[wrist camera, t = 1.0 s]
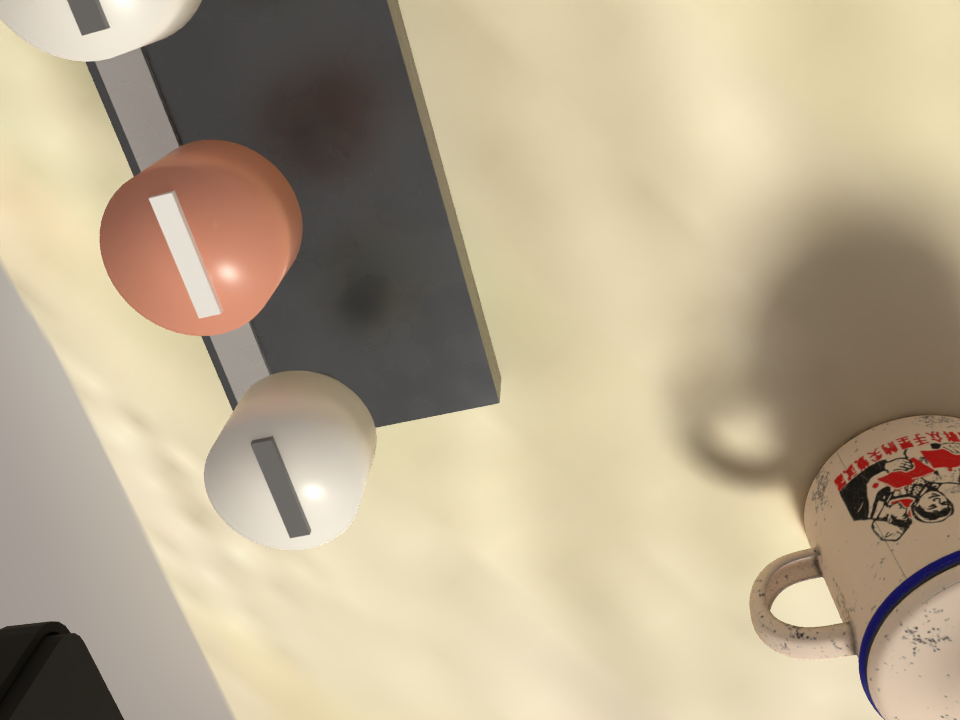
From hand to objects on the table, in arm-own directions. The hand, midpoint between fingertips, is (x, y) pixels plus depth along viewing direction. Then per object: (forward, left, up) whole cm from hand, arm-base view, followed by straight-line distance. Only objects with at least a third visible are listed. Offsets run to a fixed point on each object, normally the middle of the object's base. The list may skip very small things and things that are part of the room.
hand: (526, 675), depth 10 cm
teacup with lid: (-1, +21, -25) cm, 33 cm away
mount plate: (+7, -5, -25) cm, 26 cm away
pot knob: (+7, -5, -19) cm, 21 cm away
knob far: (+10, +1, -19) cm, 22 cm away
